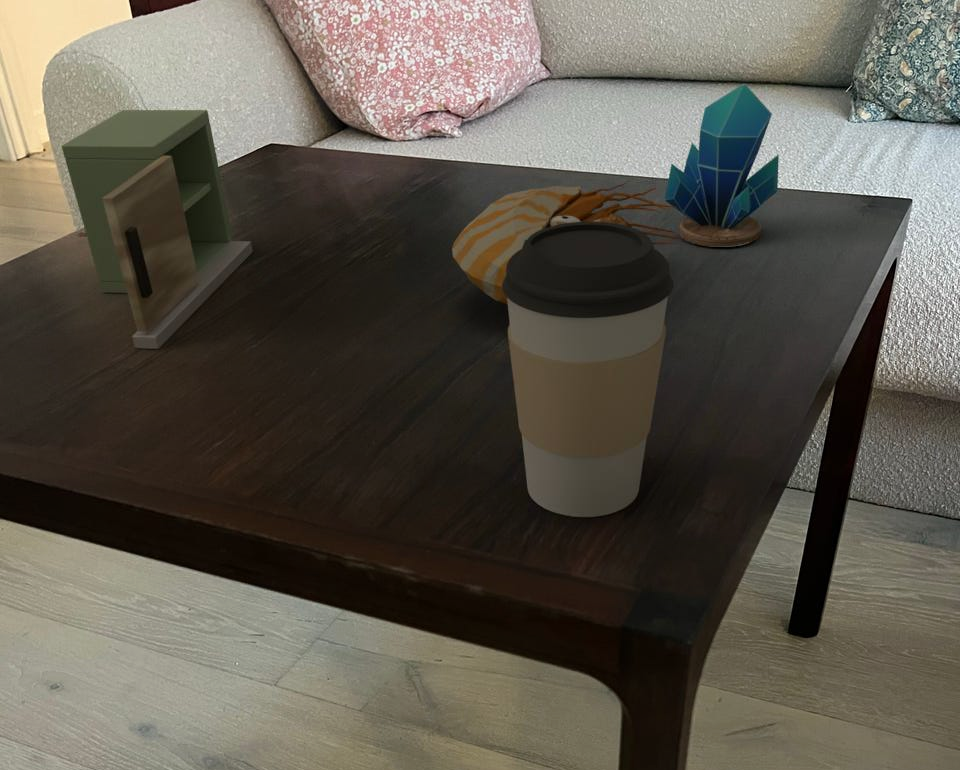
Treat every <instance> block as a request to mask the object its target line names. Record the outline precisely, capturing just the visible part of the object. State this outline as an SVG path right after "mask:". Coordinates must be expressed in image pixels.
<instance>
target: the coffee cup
mask: <svg viewBox="0 0 960 770" xmlns="http://www.w3.org/2000/svg"><path fill="white" fill-rule="evenodd" d="M641 231H642V230H639V229H637V228H634V227H633V226H632V227H629V226H625V225H620V224H615V223H607V222H572V223H565V224H559V225H554V226H551V227H547V228H544V229H542V230H539V231H537V232H535V233H534V234H532V235H531V236H530V237H529V238H528V239H527V240H526V239H525V241H524V244H523V247H522V249H520V250H519V251H517V252H516V253H515V254H514V255H513V256H512V257H511V258H510V260H509V261H508V263H507V266H506V277H505V279H504V280H503V283H502V290H503V292H504V294H505V296H506V297H507V302H508V305H507V311H508V319H509V325H508V328H507V338H508V345H509V355H510V364H511V372H512V379H513V389H514V396H515V405H516V413H517V420H518V429H519V431H520V434H521V438H522V440H521V441H522V449H523V459H524V466H525V467H524V470H525V477H526V486H527V487H526V488H527V492H528V494H529V496H530V498H531V499H532V500H533V501H534V503H535V504H537V505H538V506H540V507H542V508H543V509H545V510H547V511H549V512H552V513H554V514H559V515H562V516H566V517H574V518H595V517H601V516H606V515H611V514H614V513H617V512H619V511H621V510H623V509H625V508H626V507H628V506H629V505H631V504H632V503H633V502H634V501H635V500H636V498H637V497H638V495H639V490H640V484H641V478H642V472H643V466H644V465H643V464H644V458H645V451H646V444H647V437H648V435H649V433H650V431H651V427H652V426H651V425H652V420H653V415H654V414H653V413H654V407H655V401H656V395H657V389H658V384H659V377H660V371H661V365H662V357H663V352H664V346H665V339H666V334H667V326H666V325H665V319H666V318H665V317H666V311H667V305H668V298H669V296H670V295H671V293H672V292H673V290H674V286H675V281H674V279H673V275H672V274H671V272H670V264H669V262H668V259H667V258H666V257H665V256H664V255H663V254H662V253H661V252H660V251H659V250H658V249H656V248H655V246H654V244H652V242H653V241H652V239H651V238H650V237H649V235H648V234H645V233H643V232H641Z"/></svg>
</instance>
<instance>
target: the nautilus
mask: <svg viewBox="0 0 960 770" xmlns="http://www.w3.org/2000/svg"><path fill="white" fill-rule="evenodd" d="M630 181H631V180H629V179H628V180H626V181H624V182H622V184H618V185H616V186H613V187H610V188H599V189H596V190H592V191H587V192H582V189H581V186H560V185H553V186H550V187H546V188H532V189H526V190H520V191H516V192H511V193H507V194H505V195H503V196H502V197H500V198H499V199H497V200H495V201H493V202H491V203H490V204H489V205H488V206H487V207H486V208H485V209H484V210H483V211H482V212H481V213H480V214H478V216H476V217H475V218H473V220H471V221H470V222H469V223H468V224H467V225H466V226H465V227H464V228H463V229H462V231H461V232H460V233H459V234H458V236H457V238H456V239H455V241H454V242H453V245H452V247H451V251H452V257H453V259H454V260H455V261H456V263H457V265H459V267H460V268H461V270H462V271H463V272H464V274H465V276H466V277H467V278H468V280H469V281H470V282H471V283H472V284H473V285H475V286H476V287H477V288H478V289H479V290H481V291H482V292H483V293H484V294H485V295H486V296H488V297H490V298H492V299H493V300H495V301H497V302H499V303H502V304H504V305H507V306H508V302H507V297H506V296H505V294H504V292H503V290H502V283H503V280H504V279H505V277H506V266H507V263H508V261H509V260H510V258H511V257H512V256H513V255H514V254H515V253H516V252H517V251H519V250H520V249H522V247H523V244H524V241H525V239H526V240H527V239H528V238H529V237H530V236H531V235H532V234H534V233H535V232H537V231H539V230H542V229H544V228H547V227H551V226H554V225H559V224H565V223H572V222H607V223H615V224H620V225H625V226H629V227H632V228H633V227H638V228H643V229H648V230H655V231H661V232H667V233H673V234H677V232H676V231H674V230H670V229H667V228H666V229H665V228H661V227H656V226H650V225H645V224H641V223H635V222H630V223H629V222H628V221H626V220H625V219H624V218H623V217H622V216H619V215H617V214H616V213H617V212H619V211H625V210H645V211H652V212H656V213H660V214H661V213H662V212H661V211H660V210H658V209H655V208H653V209H652V208H648V207H657V208H660V209H662V210H664V211H665V212H667V213H669V211H668V209H666V208H672V209H675V210H677V208H676V207H674V206H672V205H670V204H662V203H656V202H654V201H651V200H649V199H645V198H643V197H640V196H644V195H646V194H648V193H650V192H651V191H654V190H656V189H657V188H656V187H653V188H650V189H648V190H646V191H644V192H641V193H633V194H629V193H626V192H612V193H610V194H605V193H600V192H602V191H605V192H609V191H612V190H615V189H617V188H619V187H623V186H624V185H625V184H627V183H628V182H630ZM616 196H618V197H619V196H620V198H617V197H616ZM628 199H634V200H638V201H640V202H645V203H630V204H628V205H624V206H622V205H620V203H615V204H612V205H610V206H607V207H605V208H603V209H601V208H602V207H603V206H604V204H605V203H607V202H613V201H614V202H622V201H626V200H628ZM599 209H600V210H599ZM596 210H598V211H596ZM594 211H595V212H594ZM640 231H641V232H643V233H645V234H646V235H647V236H655V237H661V238H668V239H669V238H670V239H675V240H682V237H678V236H675V235H674V236H673V235H669V234H663V233H658V232H657V233H656V232H650V231H645V230H640ZM677 243H678V242H670V241H652V244H653V245H677Z"/></svg>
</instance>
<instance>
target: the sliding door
mask: <svg viewBox="0 0 960 770" xmlns="http://www.w3.org/2000/svg"><path fill="white" fill-rule="evenodd" d="M102 199H103V203H104V207H105V211H106V214H107V218H108V222H109V226H110V229H111V233H112V237H113V241H114V244H115V248H116V252H117V256H118V259H119V263H120V267H121V271H122V274H123V278H124V282H125V286H126V289H127V293H126V294H127V296H128V300H129V304H130V308H131V311H132V315H133V319H134V322H135V327H136V330H137V331H138V332H147V331H148V330H149V329H150V328H151V327H152V326H153V325H154V324H155V323H156V322H157V321H159V320H160V319H161V318H162V317H163V316H164V315H165V314H166V313H167V312H168V311H169V310H170V309H171V308H172V307H173V306H174V305H175V304H176V303H177V302H178V301H179V300H180V299H181V298H182V297H183V296H184V295H185V294H186V293H187V292H188V291H189V290H190V289H191V288H192V287H193V286H194V285H195V284H196V283H197V282H198V281H199V278H198V273H197V269H196V264H195V260H194V255H193V250H192V246H191V241H190V237H189V232H188V228H187V223H186V219H185V214H184V210H183V205H182V200H181V196H180V191H179V187H178V182H177V178H176V173H175V169H174V164H173V160H172V156H162V157H160V158H159V159H157V160H156V161H154V162H153V163H152V164H150V165H149V166H147V167H146V168H144V169H143V170H142V171H140V172H139V173H137V174H136V175H134V176H133V177H132V178H130V179H129V180H127V181H126V182H125V183H123V184H122V185H120V186H119V187H117V188H116V189H115V190H113V191H112V192H110V193H109V194H107V195H106V196H105V197H103V198H102ZM137 331H136V332H137Z"/></svg>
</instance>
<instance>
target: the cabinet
mask: <svg viewBox="0 0 960 770" xmlns="http://www.w3.org/2000/svg"><path fill="white" fill-rule="evenodd" d="M61 149H62V153H63V156H64V160H65V163H66V164H65V165H66V168H67V169H68V170H67V171H68V174H69V178H70V181H71V185H72V189H73V191H74V195H75V200H76V203H77V206H78V210H79V214H80V216H81V220H82V224H83V228H84V231H85V235H86V238H87V242H88V245H89V248H90V249H89V250H90V252H91V257H92V260H93V263H94V266H95V270H96V273H97V277H98V280H99V284H100V289H101V290H102V291H101V292H102V293H103V294H104V293H106V294H128V293H127V289H126V286H125V282H124V278H123V274H122V271H121V267H120V263H119V259H118V256H117V252H116V248H115V244H114V241H113V237H112V233H111V229H110V226H109V222H108V218H107V214H106V211H105V207H104V203H103V199H102V198H103V197H105V196H106V195H107V194H109V193H110V192H112V191H113V190H115V189H116V188H117V187H119V186H120V185H122V184H123V183H125V182H126V181H127V180H129V179H130V178H132V177H133V176H134V175H136V174H137V173H139V172H140V171H142V170H143V169H144V168H146V167H147V166H149V165H150V164H152V163H153V162H154V161H156V160H157V159H159V158H160V157H162V156H172V160H173V164H174V169H175V173H176V178H177V182H178V187H179V191H180V196H181V200H182V205H183V210H184V214H185V219H186V223H187V228H188V232H189V237H190V241H191V246H192V250H193V255H194V260H195V264H196V269H197V273H198V278H199V281H198V282H197V283H196V284H195V285H194V286H193V287H192V288H191V289H190V290H189V291H188V292H187V293H186V294H185V295H184V296H183V297H182V298H181V299H180V300H179V301H178V302H177V303H176V304H175V305H174V306H173V307H172V308H171V309H170V310H169V311H168V312H167V313H166V314H165V315H164V316H163V317H162V318H161V319H160V320H159V321H157V322H156V323H155V324H154V325H153V326H152V327H151V328H150V329H149V330H148V331H147V332H138V331H136V332H135V333H134V334H132V336H131V339H132V342H133V346H134V349H143V350H144V349H145V350H146V349H147V350H159V349H160V348H161V347H162V346H163V345H164V344H165V343H167V341H168V340H169V339H170V338H171V337H172V336H173V335H174V334H175V333H176V332H177V331H178V329H180V328H181V327H182V326H183V324H184V323H185V322H186V321H187V320H188V319H189V318H191V316H192V315H193V314H195V312H196V311H197V310H198V309H199V308H200V307H201V306H202V305H203V304H204V303H205V302H206V301H207V300H208V299H209V298H210V297H211V296H212V295H213V294H214V292H216V290H218V288H219V287H220V286H221V285H222V284H223V283H225V282H226V280H227V279H228V278H229V277H230V276H231V275H233V273H234V272H235V271H236V270H237V269H238V268H239V267H240V266H241V265H242V264H243V263H244V262H245V261H246V260H247V259H248V258H249V257H250V256H251V254H253V252H254V250H253V245H252V242H251V241H248V240H247V241H245V240H244V241H243V240H234V239H233V233H232V229H231V224H230V218H229V214H228V208H227V203H226V198H225V193H224V189H223V182H222V178H221V173H220V166H219V162H218V158H217V153H216V147H215V142H214V137H213V132H212V126H211V122H210V116H209V112H208V110H207V109H122V110H120V111H118V112H117V113H115V114H113V115H112V116H110V117H108V118H107V119H105V120H103V121H101V122H100V123H98V124H97V125H95V126H93V127H91V128H90V129H88V130H86V131H84V132H83V133H81V134H78V136H76V137H74V138H73V139H71V140H69V141H67V142H65V143H64V144H62V145H61Z"/></svg>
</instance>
